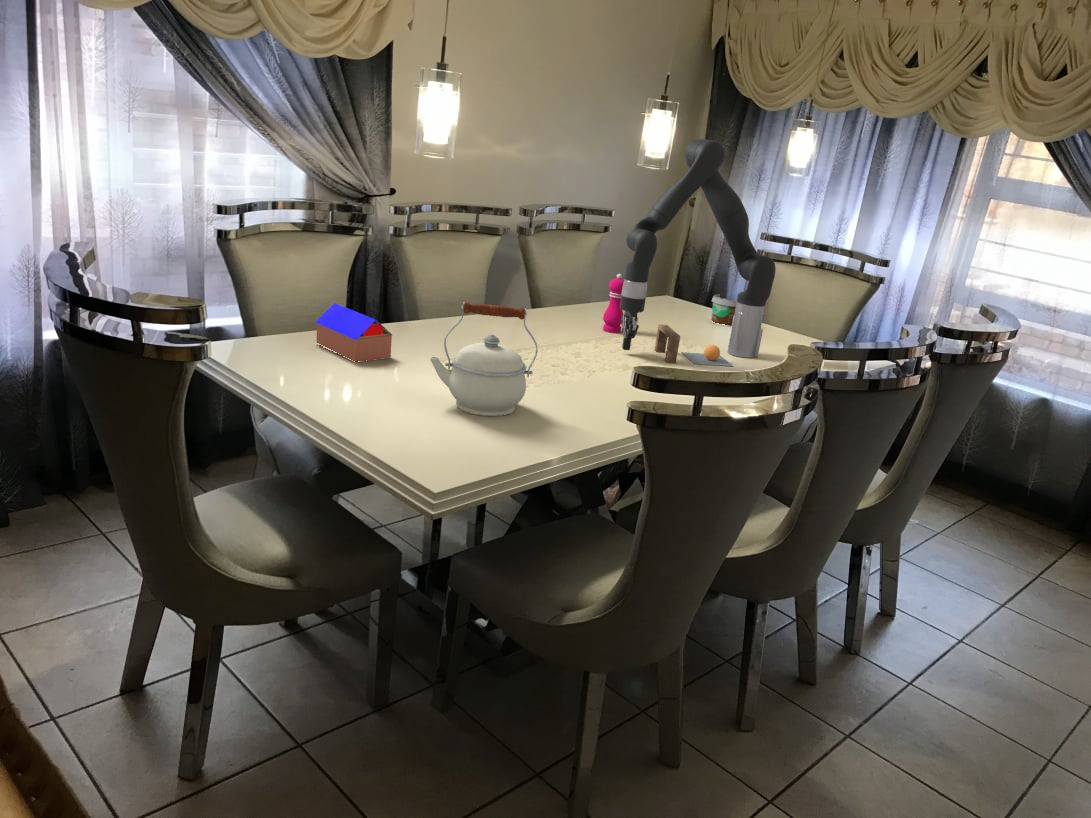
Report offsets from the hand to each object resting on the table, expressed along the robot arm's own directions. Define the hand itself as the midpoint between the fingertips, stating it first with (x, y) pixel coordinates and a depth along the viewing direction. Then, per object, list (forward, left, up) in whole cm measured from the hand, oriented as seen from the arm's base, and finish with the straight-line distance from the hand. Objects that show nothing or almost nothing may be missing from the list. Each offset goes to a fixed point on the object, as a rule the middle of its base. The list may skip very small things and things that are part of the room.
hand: (625, 349), depth 266 cm
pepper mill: (-2, -30, -2) cm, 30 cm away
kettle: (+50, +58, -2) cm, 77 cm away
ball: (-28, 0, +1) cm, 28 cm away
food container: (-50, -56, -2) cm, 75 cm away
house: (+82, +17, -2) cm, 84 cm away
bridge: (-13, 0, -2) cm, 13 cm away
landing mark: (-27, 0, -2) cm, 27 cm away
